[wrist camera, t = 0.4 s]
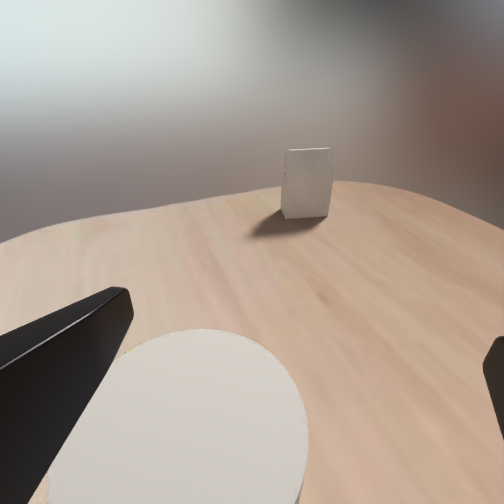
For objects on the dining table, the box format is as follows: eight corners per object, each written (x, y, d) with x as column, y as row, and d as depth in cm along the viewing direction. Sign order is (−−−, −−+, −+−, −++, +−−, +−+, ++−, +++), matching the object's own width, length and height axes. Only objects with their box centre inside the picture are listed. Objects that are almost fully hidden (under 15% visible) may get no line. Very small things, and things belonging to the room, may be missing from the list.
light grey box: (327, 216, 49) (336, 151, 43) (285, 219, 48) (289, 154, 42) (320, 206, 52) (328, 144, 46) (280, 208, 51) (283, 146, 45)
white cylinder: (279, 452, 21) (290, 326, 14) (298, 653, 14) (338, 594, 7) (155, 457, 20) (106, 331, 14) (114, 663, 14) (-25, 612, 7)
